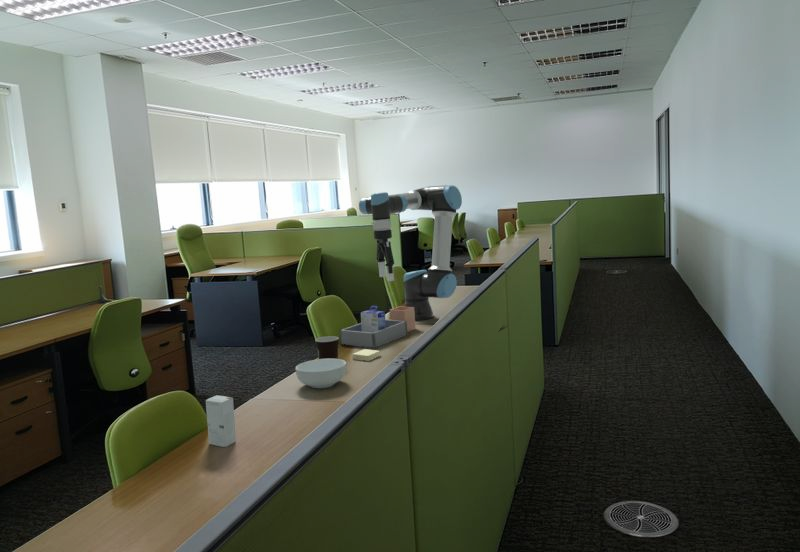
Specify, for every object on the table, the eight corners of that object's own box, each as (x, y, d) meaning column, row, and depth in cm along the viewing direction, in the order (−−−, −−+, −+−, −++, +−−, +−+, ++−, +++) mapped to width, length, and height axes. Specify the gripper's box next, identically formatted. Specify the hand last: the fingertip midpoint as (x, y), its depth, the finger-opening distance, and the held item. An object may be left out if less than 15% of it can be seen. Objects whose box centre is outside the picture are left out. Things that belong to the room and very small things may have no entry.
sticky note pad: (364, 355, 244) (364, 349, 243) (380, 357, 239) (380, 350, 239) (352, 360, 238) (352, 353, 237) (368, 362, 233) (367, 355, 233)
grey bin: (374, 331, 282) (373, 318, 281) (407, 334, 272) (406, 321, 271) (340, 344, 263) (339, 330, 262) (374, 347, 252) (373, 333, 252)
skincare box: (208, 444, 163) (203, 400, 161) (220, 438, 166) (216, 394, 165) (225, 447, 160) (220, 402, 158) (238, 441, 163) (233, 397, 162)
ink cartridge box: (387, 339, 266) (385, 305, 265) (379, 342, 262) (377, 308, 260) (369, 337, 272) (367, 304, 271) (361, 339, 268) (359, 306, 266)
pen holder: (401, 327, 287) (399, 306, 286) (415, 328, 282) (414, 307, 281) (391, 331, 281) (389, 309, 279) (405, 332, 276) (404, 310, 275)
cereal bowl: (354, 377, 213) (353, 357, 212) (337, 393, 198) (335, 372, 197) (309, 376, 218) (307, 357, 217) (288, 392, 202) (286, 371, 201)
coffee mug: (336, 368, 226) (334, 341, 225) (314, 368, 228) (311, 342, 227) (345, 359, 237) (343, 334, 236) (324, 359, 239) (322, 334, 238)
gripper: (367, 228, 273) (371, 276, 276) (381, 232, 249) (385, 283, 253) (383, 226, 275) (387, 274, 278) (398, 230, 251) (403, 281, 255)
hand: (386, 278), depth 266 cm, fingers open, 13 cm apart
